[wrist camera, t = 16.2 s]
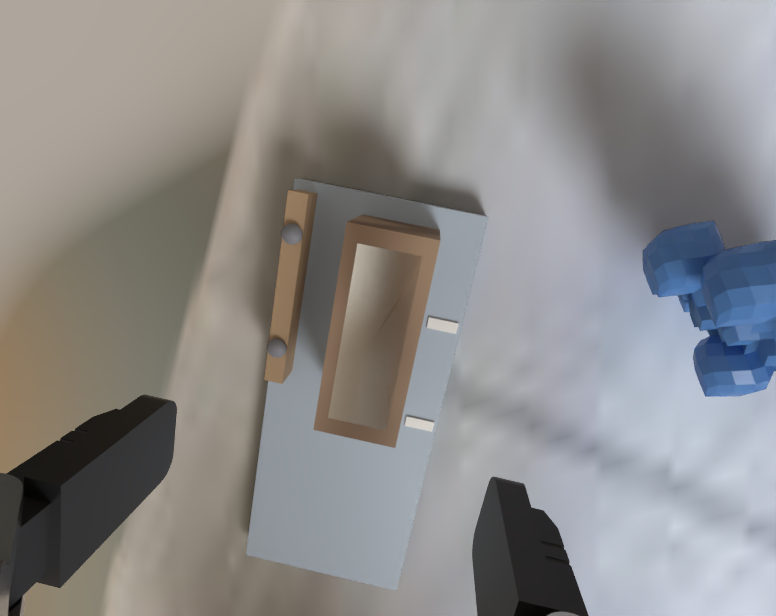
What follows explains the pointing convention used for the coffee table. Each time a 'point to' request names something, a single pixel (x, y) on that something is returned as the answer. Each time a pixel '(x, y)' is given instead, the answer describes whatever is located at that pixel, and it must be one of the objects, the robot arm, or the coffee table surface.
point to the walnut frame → (375, 328)
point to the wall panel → (302, 386)
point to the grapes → (720, 303)
